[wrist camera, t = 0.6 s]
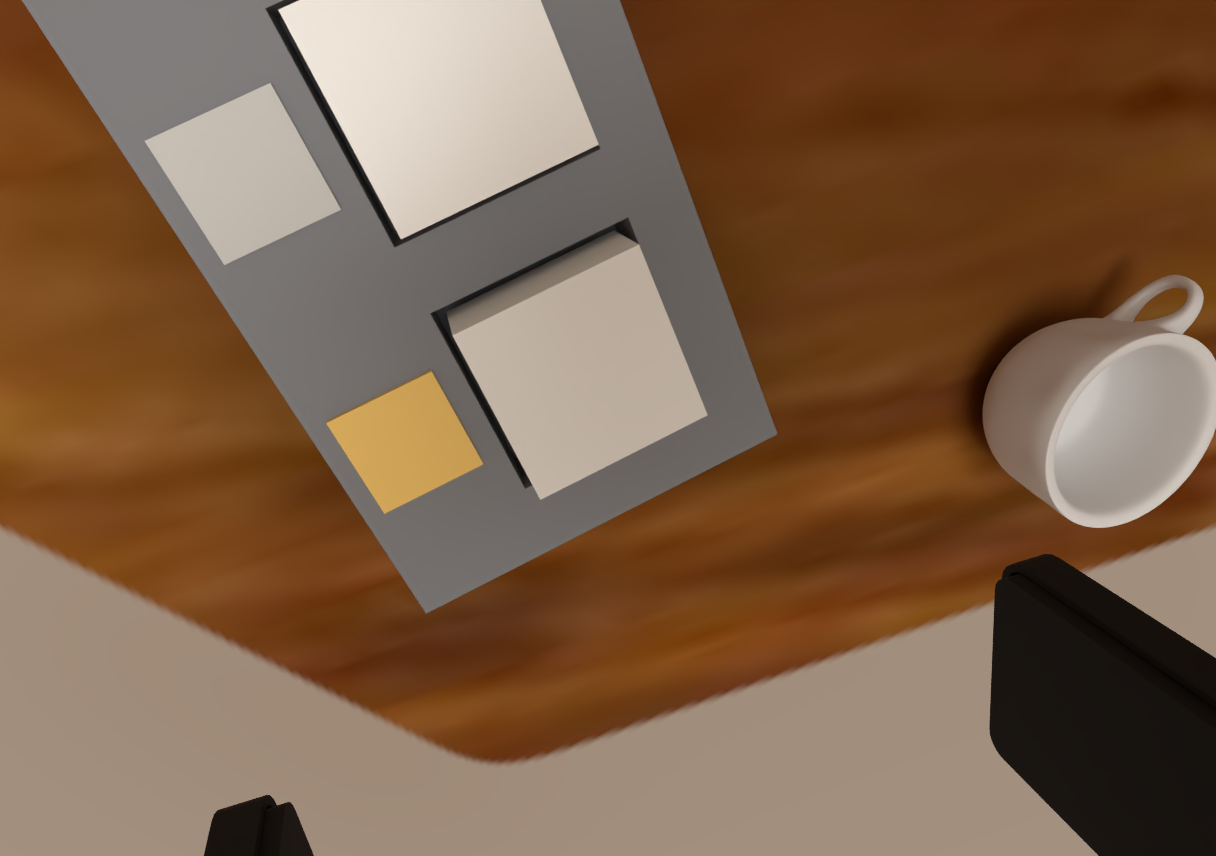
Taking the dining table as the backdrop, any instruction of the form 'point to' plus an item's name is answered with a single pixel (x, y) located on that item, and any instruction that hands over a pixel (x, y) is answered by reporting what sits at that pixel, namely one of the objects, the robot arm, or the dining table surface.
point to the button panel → (406, 269)
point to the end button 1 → (578, 362)
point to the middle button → (442, 96)
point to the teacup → (1105, 409)
